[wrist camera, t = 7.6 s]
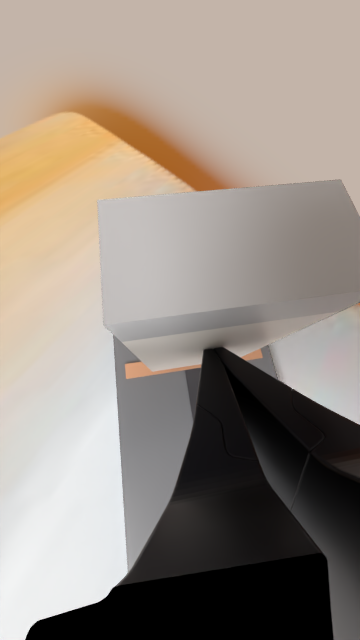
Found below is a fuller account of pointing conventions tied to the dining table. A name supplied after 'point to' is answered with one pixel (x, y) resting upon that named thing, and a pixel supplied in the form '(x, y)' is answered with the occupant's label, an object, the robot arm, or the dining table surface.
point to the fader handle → (225, 267)
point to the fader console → (156, 435)
